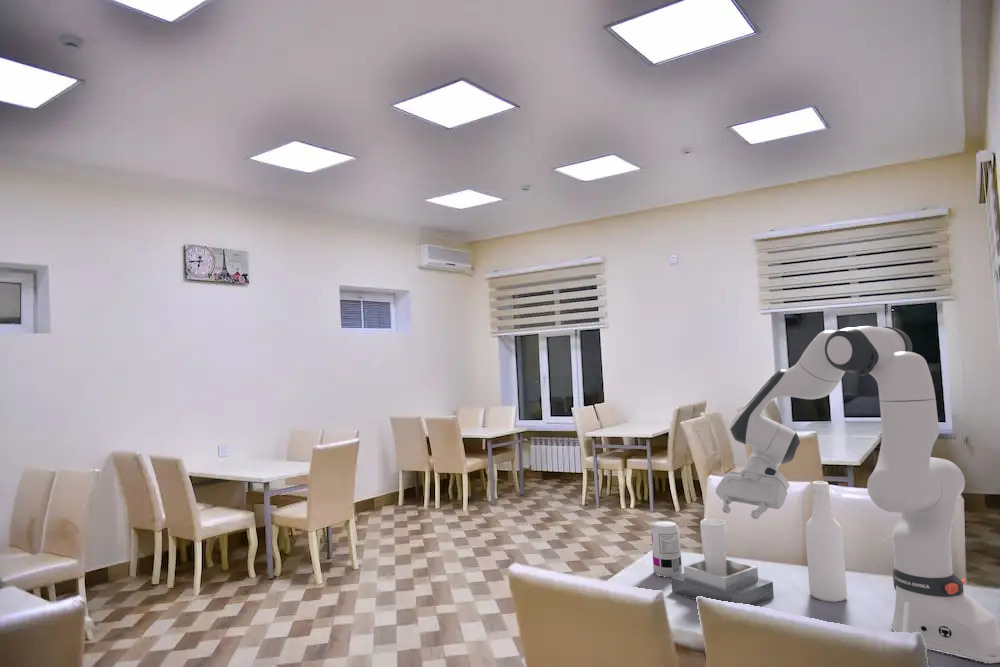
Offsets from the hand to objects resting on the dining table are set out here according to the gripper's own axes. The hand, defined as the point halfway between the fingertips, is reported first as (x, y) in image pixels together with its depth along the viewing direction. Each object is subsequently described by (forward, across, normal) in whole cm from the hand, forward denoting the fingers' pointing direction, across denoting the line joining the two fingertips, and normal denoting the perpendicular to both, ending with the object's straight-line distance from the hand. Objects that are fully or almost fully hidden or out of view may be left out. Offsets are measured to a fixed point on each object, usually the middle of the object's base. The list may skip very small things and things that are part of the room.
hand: (739, 514), depth 181 cm
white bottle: (+8, +19, +21) cm, 29 cm away
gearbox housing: (+21, 0, +7) cm, 22 cm away
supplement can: (+20, -21, +9) cm, 30 cm away
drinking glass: (+18, -2, +4) cm, 18 cm away
